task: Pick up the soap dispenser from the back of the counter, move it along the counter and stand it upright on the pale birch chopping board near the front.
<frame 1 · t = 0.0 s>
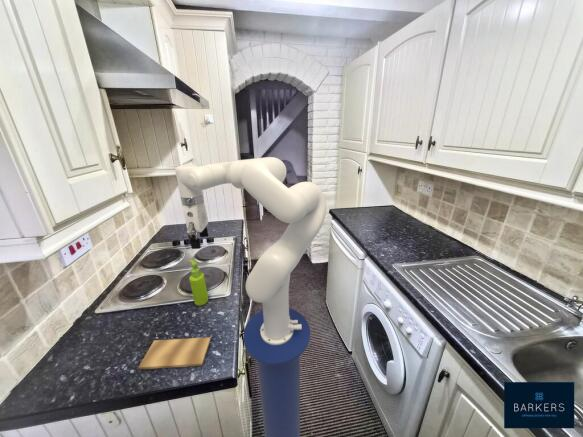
hand: (200, 242, 89), 30 cm above the worktop, tool pointing down, fingers open, 9 cm apart
soap dispenser: (201, 300, 102), on the worktop
chopping board: (177, 353, 78), on the worktop
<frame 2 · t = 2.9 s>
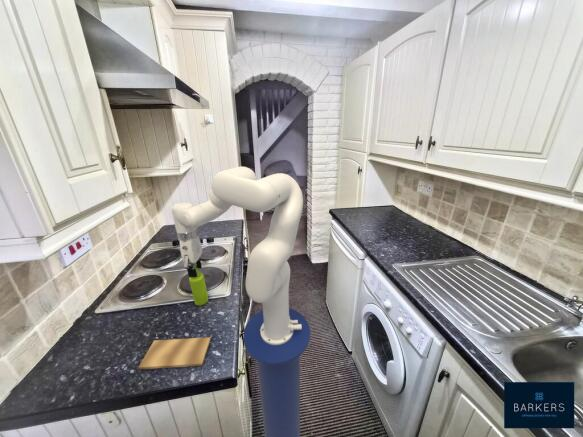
hand: (195, 272, 97), 15 cm above the worktop, tool pointing down, fingers closed on soap dispenser, 5 cm apart
soap dispenser: (201, 300, 102), on the worktop, touching gripper
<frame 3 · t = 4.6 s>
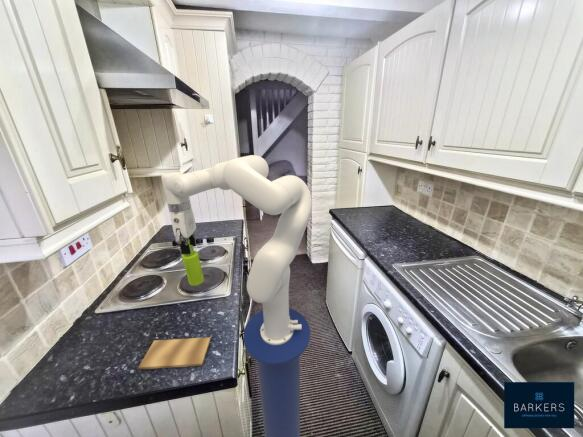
hand: (189, 249, 90), 27 cm above the worktop, tool pointing down, fingers closed on soap dispenser, 5 cm apart
soap dispenser: (196, 281, 96), point 12 cm above the worktop, touching gripper
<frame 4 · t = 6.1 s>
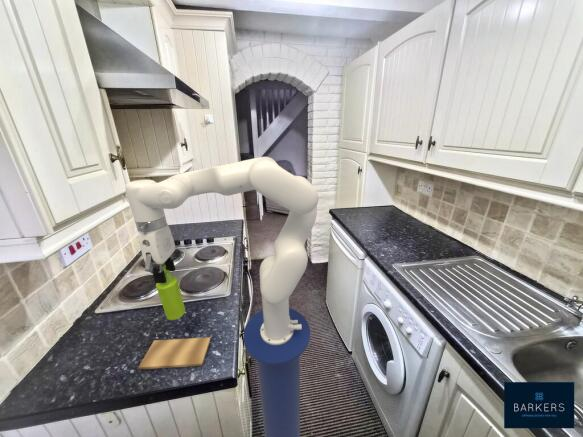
hand: (165, 275, 72), 28 cm above the worktop, tool pointing down, fingers closed on soap dispenser, 5 cm apart
soap dispenser: (175, 312, 78), point 13 cm above the worktop, touching gripper
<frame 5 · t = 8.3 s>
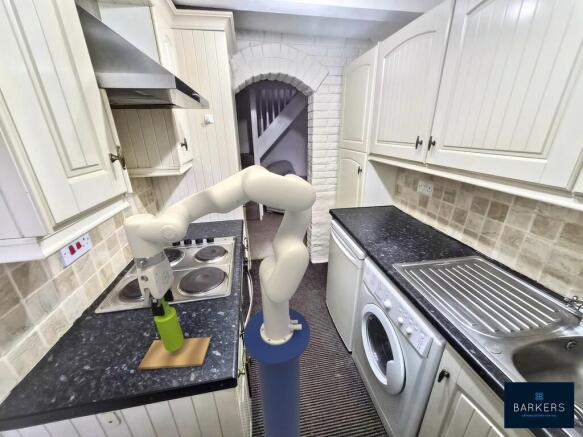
hand: (164, 307, 71), 20 cm above the worktop, tool pointing down, fingers closed on soap dispenser, 5 cm apart
soap dispenser: (174, 342, 76), point 5 cm above the worktop, touching gripper
when the fingers open (16 cm above the worktop, at t = 9.8 s): soap dispenser stays where it is, resting on chopping board.
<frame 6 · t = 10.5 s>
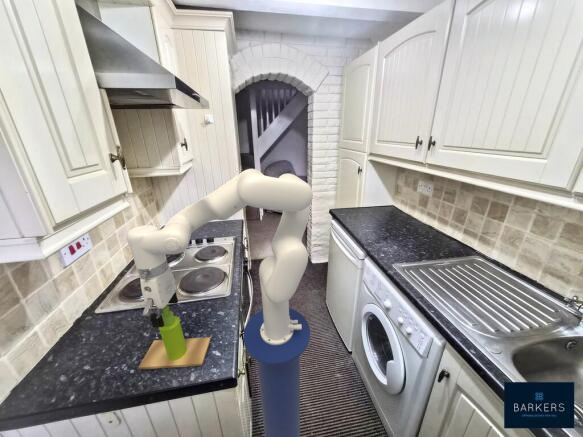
hand: (166, 313, 72), 17 cm above the worktop, tool pointing down, fingers open, 9 cm apart
soap dispenser: (177, 351, 78), point 1 cm above the worktop, touching chopping board
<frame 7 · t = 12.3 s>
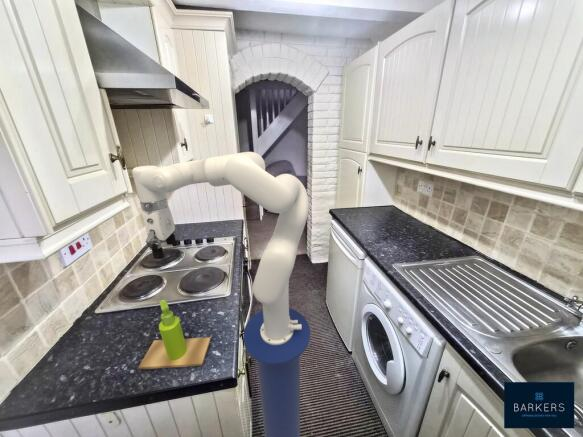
hand: (166, 250, 80), 31 cm above the worktop, tool pointing down, fingers open, 9 cm apart
nothing on the worktop moved.
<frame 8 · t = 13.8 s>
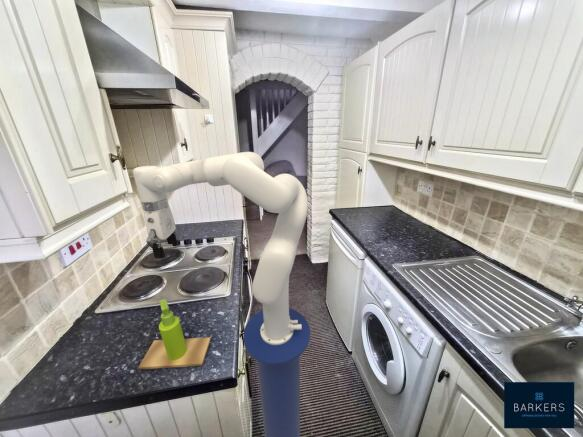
hand: (166, 250, 81), 31 cm above the worktop, tool pointing down, fingers open, 9 cm apart
nothing on the worktop moved.
at the end: soap dispenser inside the target area on the chopping board (0.1 cm from its centre), point 0.8 cm above the chopping board's base; soap dispenser tilted 0°; soap dispenser moved 26.0 cm from its start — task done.
